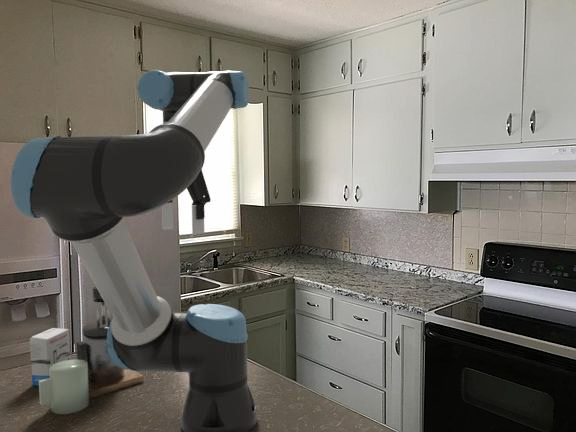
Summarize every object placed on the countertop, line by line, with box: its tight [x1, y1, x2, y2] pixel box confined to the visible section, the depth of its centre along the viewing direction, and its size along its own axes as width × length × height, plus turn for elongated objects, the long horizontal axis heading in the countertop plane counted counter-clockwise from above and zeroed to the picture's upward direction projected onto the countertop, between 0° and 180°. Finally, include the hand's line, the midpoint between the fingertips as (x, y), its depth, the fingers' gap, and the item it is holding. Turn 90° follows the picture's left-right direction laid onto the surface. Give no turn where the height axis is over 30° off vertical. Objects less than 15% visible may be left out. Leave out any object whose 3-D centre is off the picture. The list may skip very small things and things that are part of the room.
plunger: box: [92, 286, 107, 325], centre depth 119 cm, size 4×4×9 cm
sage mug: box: [38, 358, 90, 415], centre depth 106 cm, size 8×10×9 cm
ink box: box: [29, 327, 71, 387], centre depth 121 cm, size 9×5×12 cm, turn 168°
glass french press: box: [76, 306, 144, 399], centre depth 119 cm, size 13×13×18 cm
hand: (182, 231), depth 117 cm, fingers open, 13 cm apart
